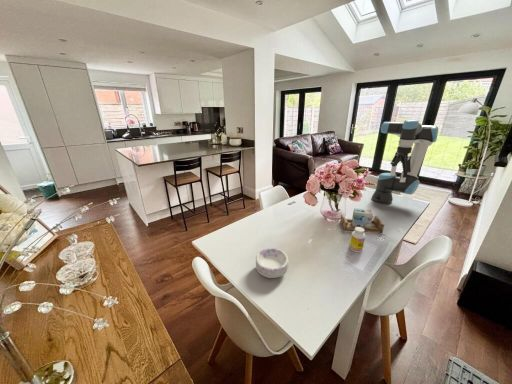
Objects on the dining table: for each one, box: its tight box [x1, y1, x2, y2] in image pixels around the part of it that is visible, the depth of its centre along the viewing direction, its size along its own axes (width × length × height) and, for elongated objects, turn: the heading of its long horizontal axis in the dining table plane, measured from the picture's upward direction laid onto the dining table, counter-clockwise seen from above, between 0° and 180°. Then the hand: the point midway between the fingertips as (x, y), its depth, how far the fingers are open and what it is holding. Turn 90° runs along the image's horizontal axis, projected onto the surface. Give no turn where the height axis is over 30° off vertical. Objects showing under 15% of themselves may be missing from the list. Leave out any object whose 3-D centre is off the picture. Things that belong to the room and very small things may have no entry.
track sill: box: [339, 213, 385, 234], centre depth 135 cm, size 11×22×6 cm, turn 83°
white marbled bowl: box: [255, 247, 289, 279], centre depth 99 cm, size 15×15×8 cm
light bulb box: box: [351, 207, 374, 228], centre depth 134 cm, size 11×7×11 cm, turn 72°
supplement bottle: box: [349, 227, 366, 253], centre depth 113 cm, size 7×7×13 cm
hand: (396, 178), depth 138 cm, fingers open, 13 cm apart
